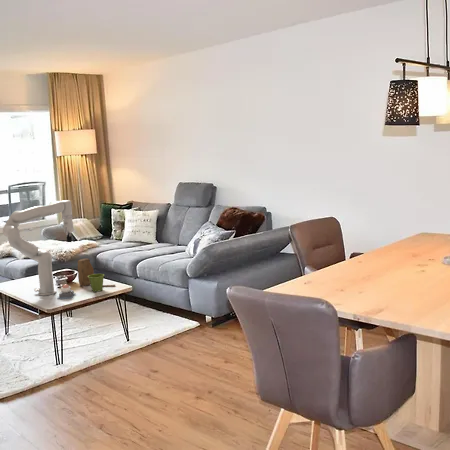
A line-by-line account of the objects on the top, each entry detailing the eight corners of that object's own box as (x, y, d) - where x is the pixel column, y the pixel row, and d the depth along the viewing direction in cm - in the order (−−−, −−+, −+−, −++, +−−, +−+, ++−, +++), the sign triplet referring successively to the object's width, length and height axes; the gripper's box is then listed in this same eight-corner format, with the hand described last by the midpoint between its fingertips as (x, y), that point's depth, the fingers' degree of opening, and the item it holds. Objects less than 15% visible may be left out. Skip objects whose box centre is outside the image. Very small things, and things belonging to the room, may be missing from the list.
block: (82, 286, 407) (80, 260, 404) (78, 285, 413) (75, 259, 410) (95, 284, 414) (93, 258, 411) (91, 282, 420) (88, 257, 417)
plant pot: (109, 289, 397) (107, 274, 395) (97, 293, 387) (95, 278, 385) (97, 287, 403) (96, 272, 401) (85, 291, 393) (84, 276, 392)
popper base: (57, 299, 377) (57, 294, 376) (61, 295, 387) (61, 290, 386) (72, 298, 377) (71, 293, 376) (75, 294, 387) (75, 289, 386)
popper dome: (60, 296, 378) (59, 285, 377) (63, 294, 385) (62, 283, 384) (69, 296, 378) (68, 285, 377) (72, 293, 385) (71, 282, 384)
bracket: (94, 287, 403) (94, 286, 403) (95, 286, 406) (95, 285, 405) (114, 286, 403) (114, 285, 403) (115, 285, 406) (115, 284, 406)
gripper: (69, 218, 390) (72, 243, 393) (74, 215, 405) (77, 239, 408) (59, 218, 390) (61, 243, 393) (64, 216, 405) (67, 240, 408)
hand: (69, 241), depth 400 cm, fingers closed
